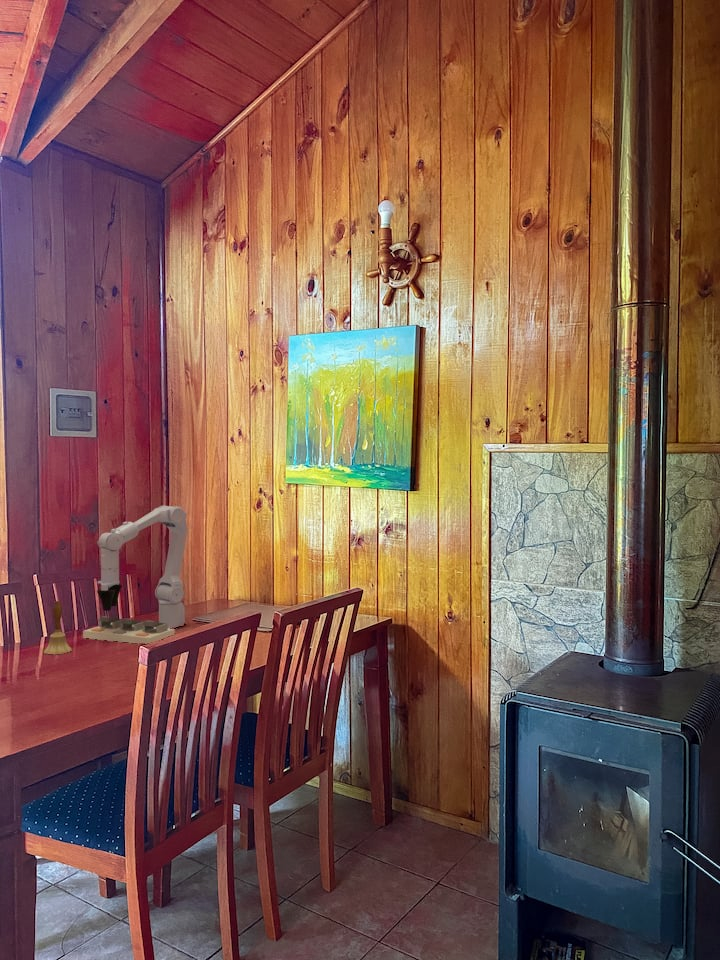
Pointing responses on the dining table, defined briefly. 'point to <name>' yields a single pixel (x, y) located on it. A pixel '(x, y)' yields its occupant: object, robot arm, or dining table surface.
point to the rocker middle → (130, 621)
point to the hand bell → (57, 635)
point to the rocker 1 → (108, 619)
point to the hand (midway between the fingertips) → (110, 608)
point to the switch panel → (128, 632)
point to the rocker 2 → (152, 623)
